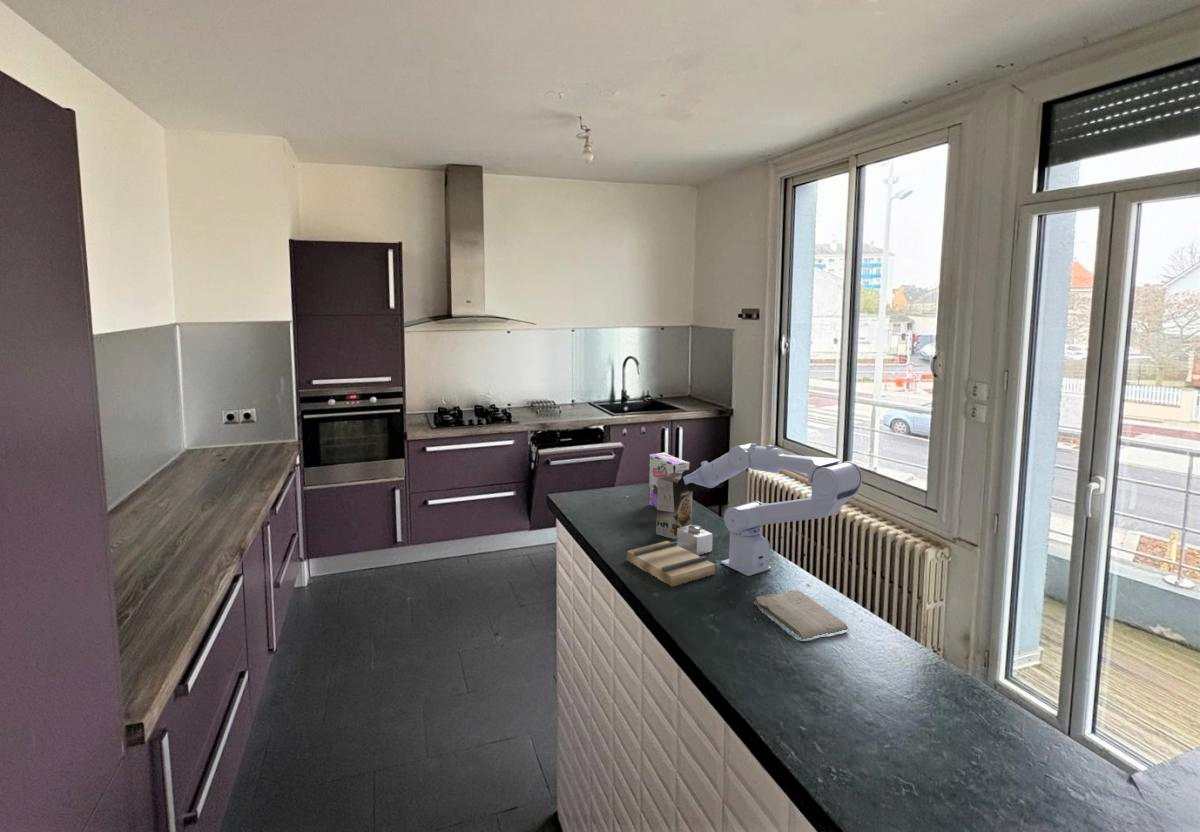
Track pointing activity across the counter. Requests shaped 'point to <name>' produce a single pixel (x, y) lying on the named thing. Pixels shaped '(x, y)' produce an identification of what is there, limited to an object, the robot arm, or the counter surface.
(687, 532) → the block
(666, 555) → the stand
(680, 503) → the coffee box
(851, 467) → the robot arm
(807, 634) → the washcloth
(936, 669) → the counter surface
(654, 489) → the candy box
